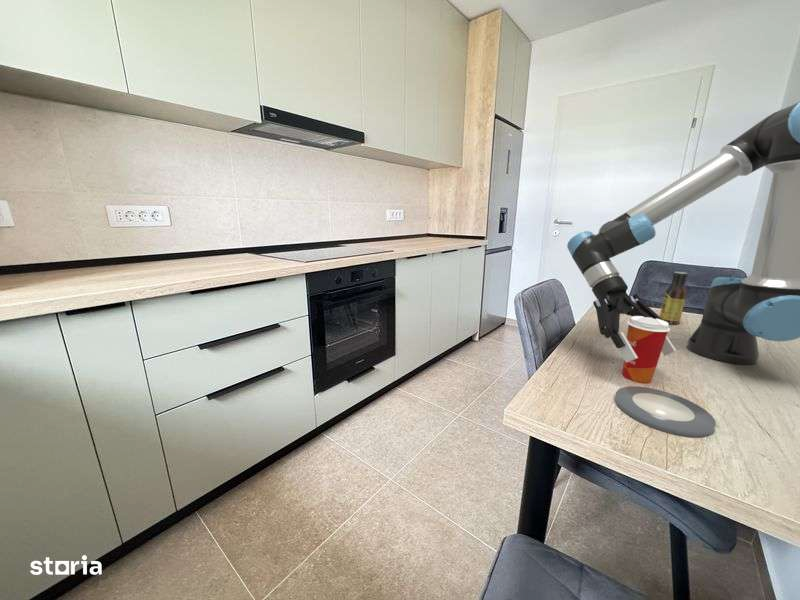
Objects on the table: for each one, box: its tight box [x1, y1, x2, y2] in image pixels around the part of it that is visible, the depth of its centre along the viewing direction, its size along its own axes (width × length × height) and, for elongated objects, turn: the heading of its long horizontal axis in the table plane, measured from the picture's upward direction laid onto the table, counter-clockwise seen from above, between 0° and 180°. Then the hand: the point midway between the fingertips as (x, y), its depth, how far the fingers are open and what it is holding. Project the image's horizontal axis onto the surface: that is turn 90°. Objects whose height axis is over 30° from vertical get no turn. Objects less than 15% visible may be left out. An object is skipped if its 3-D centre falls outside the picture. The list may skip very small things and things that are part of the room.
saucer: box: [614, 385, 717, 438], centre depth 66 cm, size 16×16×1 cm
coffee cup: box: [621, 316, 671, 384], centre depth 78 cm, size 8×8×15 cm
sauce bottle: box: [659, 271, 689, 326], centre depth 122 cm, size 6×6×20 cm
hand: (651, 356), depth 76 cm, fingers open, 13 cm apart
